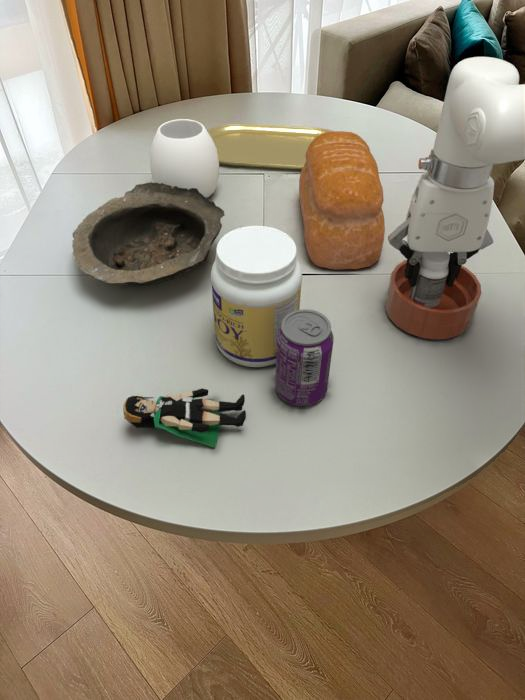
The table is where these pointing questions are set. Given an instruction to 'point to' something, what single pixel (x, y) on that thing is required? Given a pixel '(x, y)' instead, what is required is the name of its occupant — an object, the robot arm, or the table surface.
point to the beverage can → (303, 357)
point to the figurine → (184, 415)
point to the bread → (341, 202)
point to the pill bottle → (430, 279)
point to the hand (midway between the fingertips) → (429, 280)
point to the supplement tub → (253, 292)
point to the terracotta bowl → (438, 320)
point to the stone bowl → (147, 235)
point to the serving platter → (263, 145)
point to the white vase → (185, 156)
